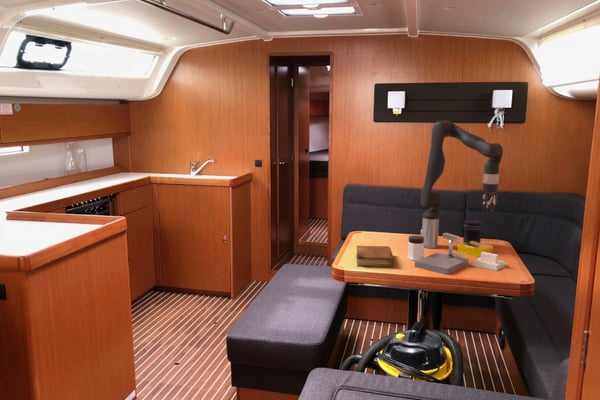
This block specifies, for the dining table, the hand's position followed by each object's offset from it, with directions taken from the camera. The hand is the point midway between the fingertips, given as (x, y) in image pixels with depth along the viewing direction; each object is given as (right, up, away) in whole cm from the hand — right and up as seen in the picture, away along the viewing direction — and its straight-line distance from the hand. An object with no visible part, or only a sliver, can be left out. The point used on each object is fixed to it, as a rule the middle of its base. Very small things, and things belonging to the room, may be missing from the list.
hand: (488, 213), depth 252 cm
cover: (0, -26, -1) cm, 26 cm away
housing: (-25, -27, -1) cm, 37 cm away
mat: (0, -27, 0) cm, 27 cm away
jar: (-35, -25, +11) cm, 45 cm away
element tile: (+2, -24, +24) cm, 34 cm away
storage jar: (+5, -21, +38) cm, 44 cm away
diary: (-58, -26, +8) cm, 65 cm away
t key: (-18, -23, +3) cm, 29 cm away
